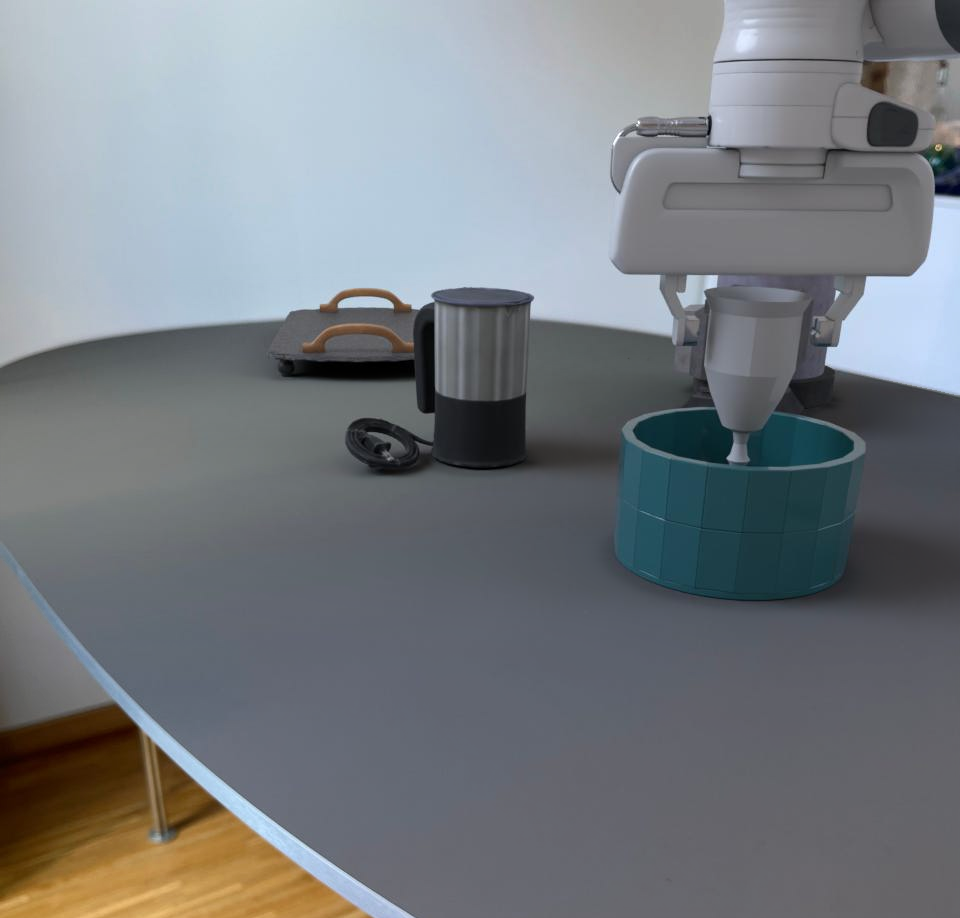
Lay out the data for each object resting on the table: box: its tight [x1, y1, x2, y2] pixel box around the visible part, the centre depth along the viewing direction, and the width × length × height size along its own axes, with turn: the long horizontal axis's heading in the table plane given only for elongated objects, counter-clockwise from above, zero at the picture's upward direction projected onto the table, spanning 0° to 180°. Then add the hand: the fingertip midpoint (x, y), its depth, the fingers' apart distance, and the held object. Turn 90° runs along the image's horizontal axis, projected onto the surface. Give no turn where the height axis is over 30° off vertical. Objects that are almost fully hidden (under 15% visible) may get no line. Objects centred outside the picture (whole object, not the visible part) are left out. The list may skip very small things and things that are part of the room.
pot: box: [613, 407, 867, 601], centre depth 77 cm, size 17×17×9 cm
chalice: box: [703, 286, 814, 466], centre depth 75 cm, size 7×7×18 cm
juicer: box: [673, 275, 837, 415], centre depth 117 cm, size 30×16×24 cm, turn 155°
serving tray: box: [266, 287, 420, 377], centre depth 145 cm, size 39×23×6 cm, turn 4°
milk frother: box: [344, 286, 535, 470], centre depth 97 cm, size 14×16×15 cm
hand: (753, 345), depth 72 cm, fingers open, 8 cm apart
